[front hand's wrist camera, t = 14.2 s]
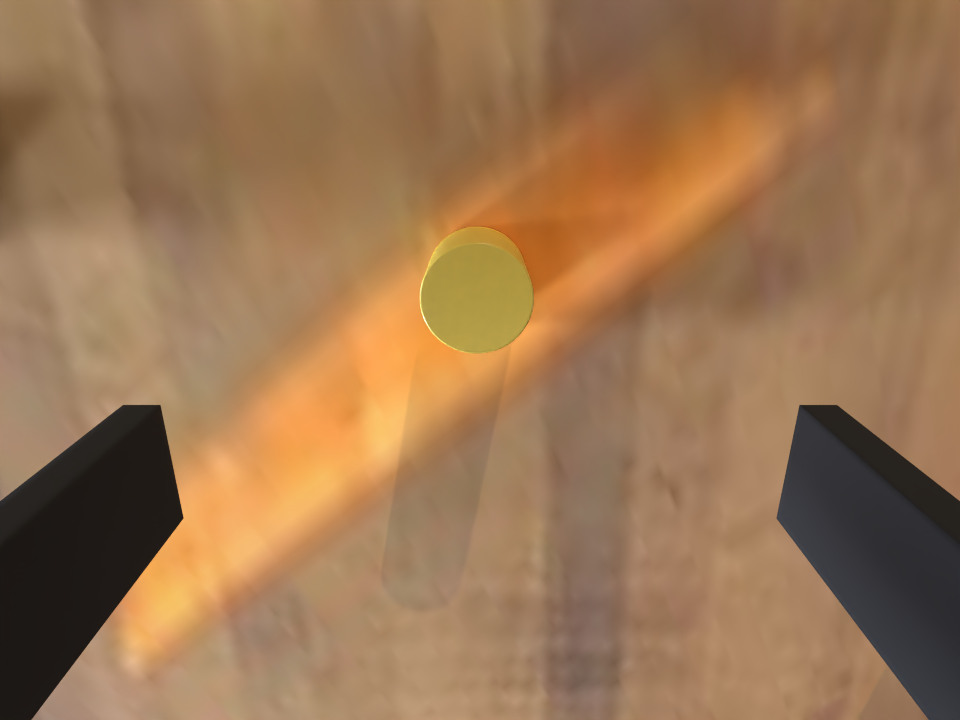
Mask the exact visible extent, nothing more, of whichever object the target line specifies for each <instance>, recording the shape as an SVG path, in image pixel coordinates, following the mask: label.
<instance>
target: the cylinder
mask: <svg viewBox="0 0 960 720" xmlns="http://www.w3.org/2000/svg"><path fill="white" fill-rule="evenodd" d="M533 305H534V292H533V286H532V282H531V279H530V276H529V273H528V271H527V268H526V265H525V262H524V259H523V257H522V254H521V253H520V251H519V249H518V248H517V246H516V245H515V244H514V243H513V242H512V240H511V239H509V238H508V237H507V236H506V235H504V234H502V233H501V232H499V231H496V230H494V229H491V228H487V227H467V228H463V229H460V230H458V231H455V232H453V233H452V234H450V235H448V236H447V237H446V238H445V239H444V240H443V241H442V242H441V243H440V244H439V245H438V246H437V248H436V249H435V251H434V253H433V255H432V257H431V260H430V262H429V265H428V267H427V270H426V273H425V275H424V278H423V281H422V284H421V288H420V307H421V312H422V315H423V318H424V320H425V322H426V324H427V326H428V327H429V329H430V330H431V332H432V333H433V334H434V335H435V336H436V337H437V338H438V339H439V340H440V341H442V342H443V343H444V344H446V345H447V346H449V347H451V348H453V349H456V350H458V351H462V352H466V353H488V352H492V351H495V350H498V349H501V348H503V347H504V346H506V345H508V344H509V343H511V342H512V341H514V340H515V339H516V338H517V337H518V336H519V335H520V334H521V332H522V331H523V330H524V328H525V327H526V325H527V324H528V321H529V319H530V317H531V314H532V310H533Z"/></svg>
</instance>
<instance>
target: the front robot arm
mask: <svg viewBox="0 0 960 720" xmlns="http://www.w3.org/2000/svg"><path fill="white" fill-rule="evenodd" d="M182 520H183V514H182V509H181V504H180V499H179V494H178V489H177V484H176V479H175V474H174V470H173V465H172V460H171V455H170V450H169V445H168V440H167V435H166V430H165V425H164V420H163V416H162V411H161V406H160V405H123V406H121V407H120V408H119V409H117V410H116V411H115V412H114V413H112V414H111V415H110V416H109V417H107V418H106V419H105V420H103V421H102V422H101V423H100V424H98V425H97V426H96V427H94V428H93V429H92V430H91V431H89V432H88V433H87V434H86V435H84V436H83V437H82V438H80V439H79V440H78V441H77V442H75V443H74V444H73V445H71V446H70V447H69V448H68V449H66V450H65V451H64V452H63V453H61V454H60V455H59V456H57V457H56V458H55V459H54V460H52V461H51V462H50V463H48V464H47V465H46V466H45V467H43V468H42V469H41V470H40V471H38V472H37V473H36V474H34V475H33V476H32V477H31V478H29V479H28V480H27V481H26V482H24V483H23V484H22V485H20V486H19V487H18V488H17V489H15V490H14V491H13V492H11V493H10V494H9V495H8V496H6V497H5V498H4V499H3V500H1V501H0V720H31V719H32V718H33V717H34V715H35V714H36V713H37V711H38V710H39V709H40V707H41V706H42V705H43V704H44V702H45V701H46V700H47V698H48V697H49V696H50V694H51V693H52V692H53V690H54V689H55V688H56V686H57V685H58V684H59V682H60V681H61V680H62V678H63V677H64V676H65V674H66V673H67V672H68V670H69V669H70V668H71V666H72V665H73V664H74V662H75V661H76V660H77V659H78V657H79V656H80V655H81V653H82V652H83V651H84V649H85V648H86V647H87V645H88V644H89V643H90V641H91V640H92V639H93V637H94V636H95V635H96V633H97V632H98V631H99V629H100V628H101V627H102V625H103V624H104V623H105V621H106V620H107V619H108V617H109V616H110V615H111V614H112V612H113V611H114V610H115V608H116V607H117V606H118V604H119V603H120V602H121V600H122V599H123V598H124V596H125V595H126V594H127V592H128V591H129V590H130V588H131V587H132V586H133V584H134V583H135V582H136V580H137V579H138V578H139V576H140V575H141V574H142V572H143V571H144V570H145V569H146V567H147V566H148V565H149V563H150V562H151V561H152V559H153V558H154V557H155V555H156V554H157V553H158V551H159V550H160V549H161V547H162V546H163V545H164V543H165V542H166V541H167V539H168V538H169V537H170V535H171V534H172V533H173V531H174V530H175V529H176V527H177V526H178V525H179V523H180V522H181V521H182ZM777 520H778V521H779V522H780V523H781V525H782V526H783V527H784V529H785V530H786V531H787V533H788V534H789V535H790V537H791V538H792V539H793V541H794V542H795V543H796V545H797V546H798V547H799V549H800V550H801V551H802V553H803V554H804V555H805V557H806V558H807V559H808V561H809V562H810V563H811V565H812V566H813V567H814V569H815V570H816V571H817V572H818V574H819V575H820V576H821V578H822V579H823V580H824V582H825V583H826V584H827V586H828V587H829V588H830V590H831V591H832V592H833V594H834V595H835V596H836V598H837V599H838V600H839V602H840V603H841V604H842V606H843V607H844V608H845V610H846V611H847V612H848V614H849V615H850V616H851V617H852V619H853V620H854V621H855V623H856V624H857V625H858V627H859V628H860V629H861V631H862V632H863V633H864V635H865V636H866V637H867V639H868V640H869V641H870V643H871V644H872V645H873V647H874V648H875V649H876V651H877V652H878V653H879V655H880V656H881V657H882V659H883V660H884V661H885V662H886V664H887V665H888V666H889V668H890V669H891V670H892V672H893V673H894V674H895V676H896V677H897V678H898V680H899V681H900V682H901V684H902V685H903V686H904V688H905V689H906V690H907V692H908V693H909V694H910V696H911V697H912V698H913V700H914V701H915V702H916V704H917V705H918V706H919V707H920V709H921V710H922V711H923V713H924V714H925V715H926V717H927V718H928V719H929V720H960V501H959V500H957V499H956V498H955V497H954V496H952V495H951V494H950V493H949V492H947V491H946V490H945V489H943V488H942V487H941V486H940V485H938V484H937V483H936V482H934V481H933V480H932V479H931V478H929V477H928V476H927V475H926V474H924V473H923V472H922V471H920V470H919V469H918V468H917V467H915V466H914V465H913V464H912V463H910V462H909V461H908V460H906V459H905V458H904V457H903V456H901V455H900V454H899V453H897V452H896V451H895V450H894V449H892V448H891V447H890V446H889V445H887V444H886V443H885V442H883V441H882V440H881V439H880V438H878V437H877V436H876V435H874V434H873V433H872V432H871V431H869V430H868V429H867V428H866V427H864V426H863V425H862V424H860V423H859V422H858V421H857V420H855V419H854V418H853V417H851V416H850V415H849V414H848V413H846V412H845V411H844V410H843V409H841V408H840V407H839V406H837V405H800V406H799V411H798V416H797V420H796V425H795V430H794V435H793V440H792V445H791V450H790V455H789V460H788V465H787V470H786V474H785V479H784V484H783V489H782V494H781V499H780V504H779V509H778V514H777Z"/></svg>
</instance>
